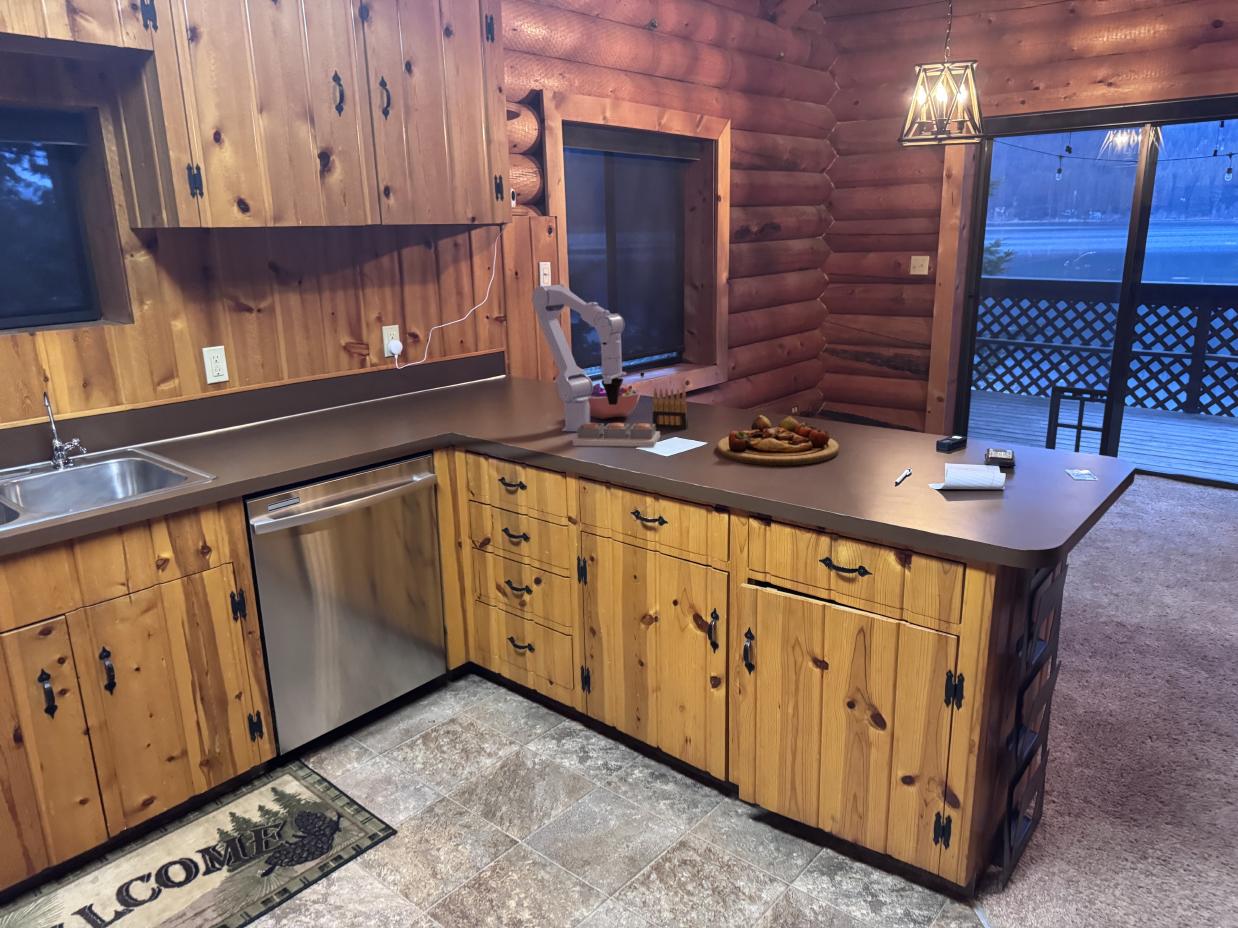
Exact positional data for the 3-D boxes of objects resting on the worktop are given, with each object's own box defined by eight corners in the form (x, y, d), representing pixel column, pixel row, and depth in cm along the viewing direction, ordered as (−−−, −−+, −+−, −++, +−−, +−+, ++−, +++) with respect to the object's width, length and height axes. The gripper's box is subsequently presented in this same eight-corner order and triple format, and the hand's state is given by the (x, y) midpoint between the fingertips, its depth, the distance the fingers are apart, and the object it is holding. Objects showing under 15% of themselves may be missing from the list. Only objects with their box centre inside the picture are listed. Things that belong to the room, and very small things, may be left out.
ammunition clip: (652, 427, 259) (651, 388, 256) (654, 426, 261) (653, 387, 258) (686, 429, 256) (686, 389, 253) (688, 428, 257) (687, 388, 254)
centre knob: (610, 433, 247) (610, 422, 246) (625, 433, 246) (625, 422, 245) (607, 437, 243) (607, 426, 242) (623, 437, 242) (622, 426, 241)
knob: (636, 434, 246) (636, 423, 245) (651, 434, 245) (651, 423, 244) (634, 437, 241) (633, 426, 240) (649, 438, 241) (649, 426, 240)
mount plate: (582, 435, 253) (582, 421, 252) (660, 436, 248) (659, 421, 247) (572, 445, 241) (572, 430, 240) (653, 446, 237) (653, 431, 236)
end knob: (585, 433, 248) (585, 422, 248) (600, 433, 248) (599, 422, 247) (582, 437, 244) (581, 426, 243) (597, 437, 243) (596, 426, 243)
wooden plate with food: (739, 473, 211) (739, 440, 209) (702, 442, 241) (702, 414, 239) (860, 462, 217) (862, 430, 214) (809, 434, 247) (810, 406, 245)
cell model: (641, 423, 266) (640, 387, 263) (577, 424, 267) (575, 388, 264) (641, 411, 283) (640, 377, 280) (580, 413, 283) (579, 379, 280)
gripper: (620, 361, 237) (622, 409, 241) (629, 353, 251) (631, 399, 254) (595, 361, 238) (597, 409, 242) (606, 353, 252) (607, 399, 256)
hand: (613, 404), depth 248 cm, fingers closed
